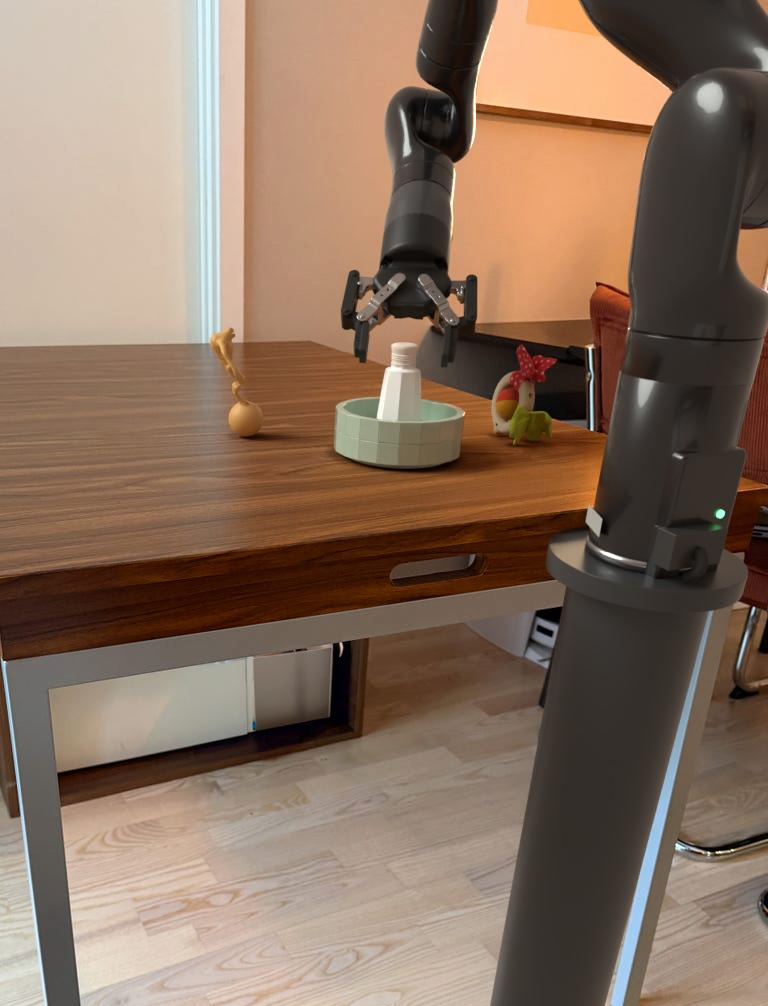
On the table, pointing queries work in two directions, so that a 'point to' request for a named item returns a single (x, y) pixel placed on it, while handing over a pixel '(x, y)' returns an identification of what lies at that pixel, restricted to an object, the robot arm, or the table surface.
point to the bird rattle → (521, 400)
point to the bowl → (398, 435)
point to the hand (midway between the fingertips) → (403, 360)
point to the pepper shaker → (401, 385)
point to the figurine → (236, 387)
